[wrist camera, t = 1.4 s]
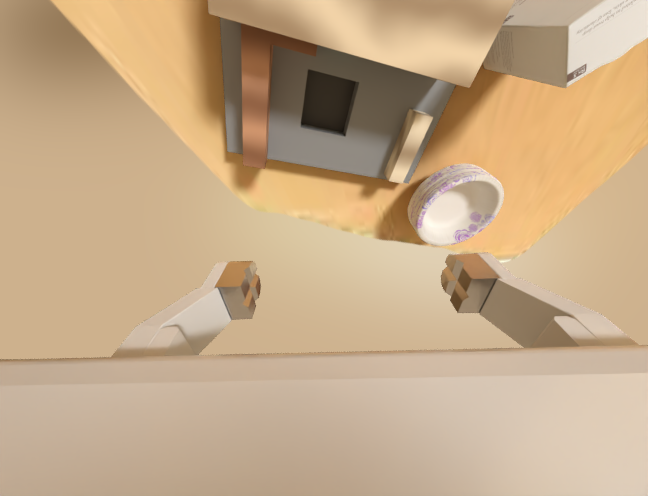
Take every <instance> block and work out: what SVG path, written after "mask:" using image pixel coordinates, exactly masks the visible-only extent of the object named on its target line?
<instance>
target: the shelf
mask: <svg viewBox="0 0 648 496" xmlns="http://www.w3.org/2000/svg"><path fill="white" fill-rule="evenodd" d="M514 1H515V0H208V12H209V14H211V15H214V16H218V17H221V18H224V19H227V20H230V21H234V22H237V23H238V22H239V23H243V24H246V25H250V26H253V27H257V28H260V29H264V30H267V31H271V32H274V33H278V34H281V35H285V36H288V37H292V38H295V39H299V40H302V41H306V42H309V43H313V44H316V45H320V46H323V47H327V48H330V49H334V50H337V51H341V52H344V53H348V54H351V55H355V56H358V57H362V58H365V59H369V60H372V61H376V62H379V63H383V64H386V65H390V66H393V67H397V68H400V69H404V70H407V71H411V72H414V73H418V74H421V75H425V76H428V77H431V78H434V79H437V80H441V81H445V82H448V83H452V84H456V85H460V86H463V87H467V88H470V86H471V84H472V82H473V80H474V78H475V76H476V74H477V72H478V71H479V69H480V67H481V65H482V63H483V61H484V59H485V57H486V55H487V53H488V51H489V49H490V47H491V45H492V44H493V42H494V40H495V38H496V36H497V34H498V32H499V30H500V28H501V26H502V24H503V22H504V20H505V18H506V16H507V15H508V13H509V11H510V9H511V7H512V5H513V3H514Z"/></svg>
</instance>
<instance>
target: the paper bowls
mask: <svg viewBox="0 0 648 496" xmlns="http://www.w3.org/2000/svg"><path fill="white" fill-rule="evenodd" d="M503 199H504V190H503V187H502V185H501V183H500V182H499V181H498V180H497V179H496V178H495V177H493V176H492V175H491V174H489V173H488V172H487V171H485V170H484V169H482V168H480V167H478V166H476V165H473V164H456V165H452V166H448V167H446V168H443V169H441V170H439V171H437V172H435V173H434V174H432V175H431V176H430V177H428V178H427V179H426V180H425V181H424V182H422V183H421V184H420V185H419V187H418V188H417V189H416V191H415V192H414V194H413V195H412V197H411V200H410V202H409V205H408V218H409V221H410V223H411V225H412V226H413V228H414V230H415V231H416V233H417V235H418V236H419V238H420V239H421V240H423V241H424V242H426V243H428V244H431V245H435V246H447V245H453V244H457V243H460V242H462V241H465V240H467V239H469V238H471V237H473V236H474V235H476V234H477V233H479V232H480V231H482V230H483V229H484V228H485V227H486V226H488V225H489V224H490V223H491V221H492V220H493V219H494V218H495V217H496V215H497V214H498V212H499V210H500V208H501V206H502V204H503Z"/></svg>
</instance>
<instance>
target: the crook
mask: <svg viewBox="0 0 648 496" xmlns="http://www.w3.org/2000/svg"><path fill="white" fill-rule="evenodd" d="M273 45H275V46H279V47H282V48H286V49H289V50H293V51H297V52H300V53H304V54H308V55H311V56H315V57H316V52H317V45H316V44H313V43H309V42H306V41H302V40H299V39H295V38H292V37H288V36H285V35H281V34H278V33H274V32H271V31H267V30H264V29H260V28H257V27H253V26H250V25H246V24H243V23H241V58H242V122H243V165H245V166H251V167H257V168H263V169H265V165H266V162H267V155H268V135H269V116H270V97H271V78H272V59H273Z"/></svg>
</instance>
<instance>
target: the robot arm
mask: <svg viewBox="0 0 648 496" xmlns="http://www.w3.org/2000/svg"><path fill="white" fill-rule="evenodd" d="M445 263H446V264H447V267H446V268H445V269H444V270H443V271H442V275H441V283H442V287H443V289H444V290H445V292H446V293H448V294H449V295H450V296H451V299H450V301H451V303H452V304H453V306H454V308H455V309H456V311H457V312H458V313H480V315H482V316H483V317H484V318H486V319H487V320H488V321H489V322H491V323H492V324H494V325H495V326H496V327H497V328H499V329H500V330H501V331H503V332H504V333H506V334H507V335H508V336H509V337H511V338H512V339H513V340H515V341H516V342H517V343H519V344H520V345H521V346H523V347H524V348H493V349H453V350H451V349H449V350H406V351H363V352H362V351H361V352H318V353H277V354H233V355H232V354H230V355H198V354H199V353H200V352H201V351H202V350H203V349H204V348H205V347H206V346H207V345H208V344H209V343H210V342H211V341H212V340H213V339H214V338H215V337H216V336H217V335H218V334H219V333H220V332H221V331H222V330H223V329H224V328H225V327H226V326H227V325H228V324H229V323H230V322H231V320H236V319H252V317H253V314H254V311H255V307H256V305H255V300H257V299H258V298H259V295H260V288H261V284H260V278H259V276H258V275H256V274H255V272H256V269H257V268H256V264H255V262H253V261H231V262H218V263H216V264H215V266H214V267H213V269H212V270H211V272H210V274H209V275H208V277H207V278H206V280H205V282H204V283H203V285H202V286H201V288H196V289H195V290H193V291H191V292H190V293H189V294H187V295H185V296H184V297H182V298H180V299H179V300H177V301H176V302H174V303H172V304H171V305H169V306H168V307H166V308H165V309H163V310H161V311H160V312H158V313H156V314H155V315H153V316H152V317H150V318H149V319H147V320H145V321H144V322H142V323H141V324H139V325H137V326H136V327H135V328H134V329H133V330H132V332H131V333H130V334H129V335H128V337H127V338H126V339H125V341H124V342H123V343H122V344H121V345H120V347H119V348H118V349H117V350H116V352H115V353H114V354H113V355H112V357H102V358H101V357H100V358H60V359H13V360H12V359H2V360H1V359H0V496H648V345H638V344H637V343H636V342H635V341H633V340H632V339H631V338H630V337H629V336H627V335H626V334H625V333H624V332H622V331H621V330H620V329H619V328H618V327H616V326H615V325H614V324H613V323H611V322H610V321H609V320H608V319H607V318H605V317H604V316H603V315H602V314H600V313H597V312H595V311H593V310H591V309H588V308H586V307H584V306H581V305H579V304H577V303H575V302H572V301H570V300H568V299H566V298H564V297H561V296H559V295H557V294H555V293H552V292H550V291H548V290H546V289H543V288H541V287H539V286H537V285H535V284H532V283H530V282H528V281H526V280H523V279H521V278H515V277H514V276H513V275H512V274H511V273H510V272H509V271H508V270H507V269H506V268H505V267H504V266H503V265H502V264H501V263H500V262H499V261H498V260H497V259H496V258H495V257H494V256H493V255H492V254H490V253H488V252H483V253H474V254H450V255H448V257H447V258H446V261H445Z"/></svg>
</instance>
